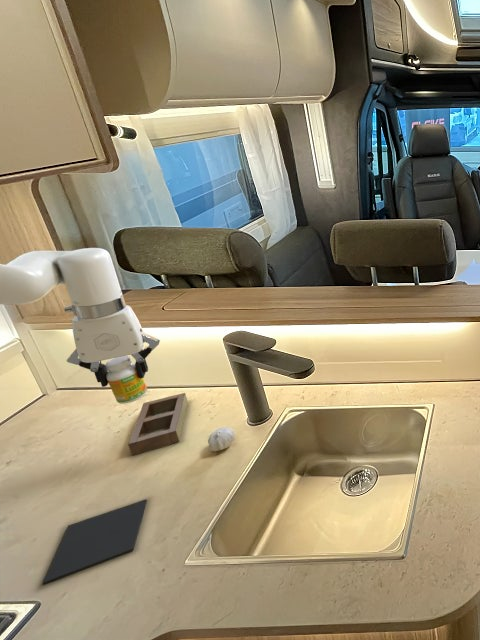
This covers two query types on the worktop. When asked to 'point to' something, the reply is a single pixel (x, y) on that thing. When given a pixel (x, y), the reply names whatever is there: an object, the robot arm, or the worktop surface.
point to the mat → (97, 540)
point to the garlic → (221, 439)
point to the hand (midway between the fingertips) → (124, 378)
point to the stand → (159, 424)
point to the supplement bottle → (125, 380)
